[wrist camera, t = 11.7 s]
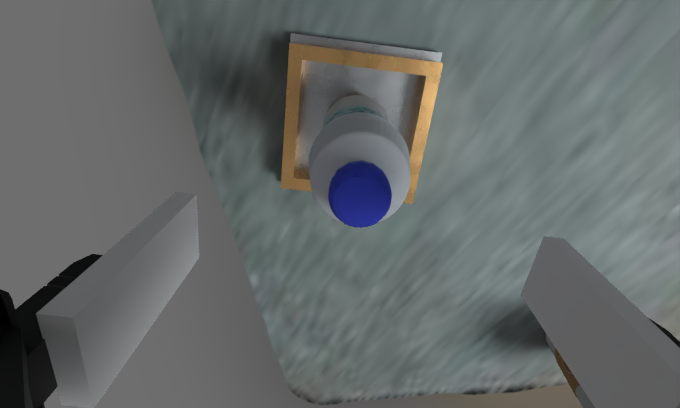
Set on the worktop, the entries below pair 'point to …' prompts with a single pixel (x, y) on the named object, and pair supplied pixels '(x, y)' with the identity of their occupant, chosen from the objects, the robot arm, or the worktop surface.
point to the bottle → (359, 163)
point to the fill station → (355, 79)
